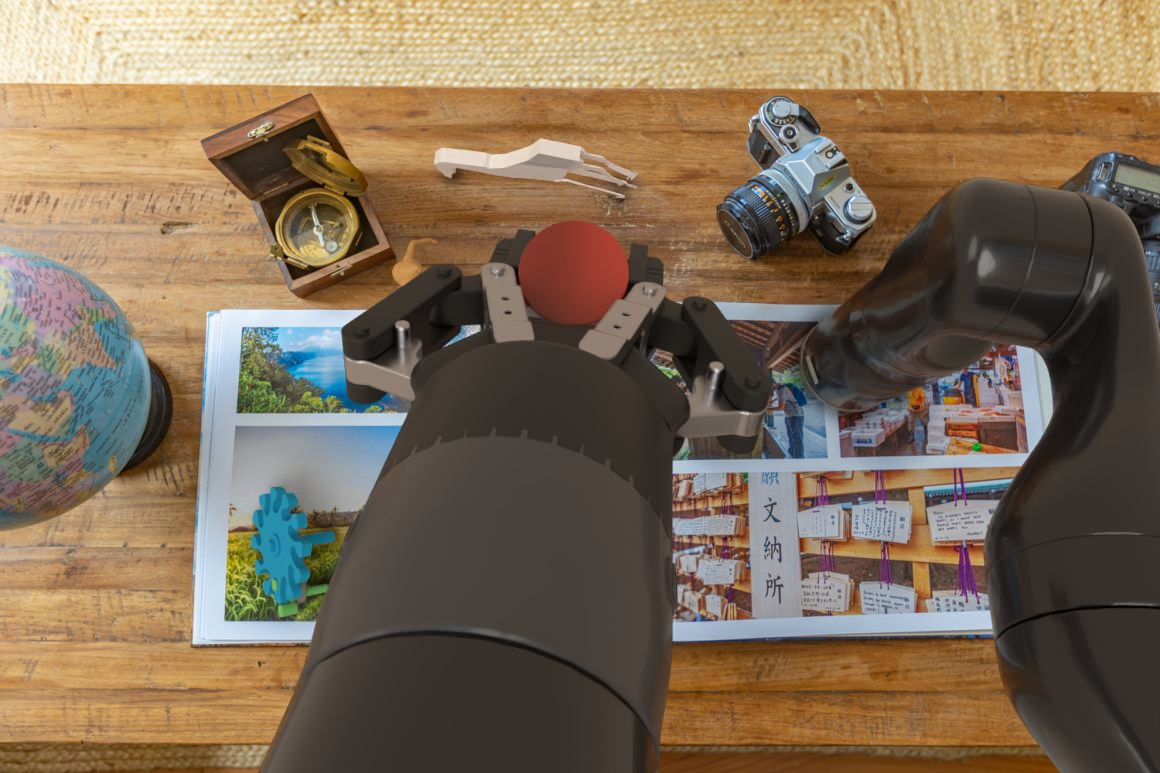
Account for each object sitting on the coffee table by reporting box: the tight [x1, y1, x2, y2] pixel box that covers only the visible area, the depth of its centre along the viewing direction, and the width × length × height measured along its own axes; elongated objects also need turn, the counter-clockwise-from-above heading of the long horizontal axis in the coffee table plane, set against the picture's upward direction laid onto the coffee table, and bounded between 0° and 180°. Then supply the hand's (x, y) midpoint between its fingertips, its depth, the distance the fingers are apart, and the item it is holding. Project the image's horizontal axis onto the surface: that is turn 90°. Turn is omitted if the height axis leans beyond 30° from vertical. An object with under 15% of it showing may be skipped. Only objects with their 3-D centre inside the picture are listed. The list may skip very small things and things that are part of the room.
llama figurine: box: [433, 138, 639, 199], centre depth 75 cm, size 2×11×18 cm
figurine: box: [391, 237, 440, 287], centre depth 70 cm, size 8×6×12 cm
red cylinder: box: [518, 220, 629, 325], centre depth 32 cm, size 4×4×8 cm
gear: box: [250, 485, 336, 618], centre depth 69 cm, size 11×6×10 cm
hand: (581, 258), depth 33 cm, fingers closed on red cylinder, 4 cm apart
